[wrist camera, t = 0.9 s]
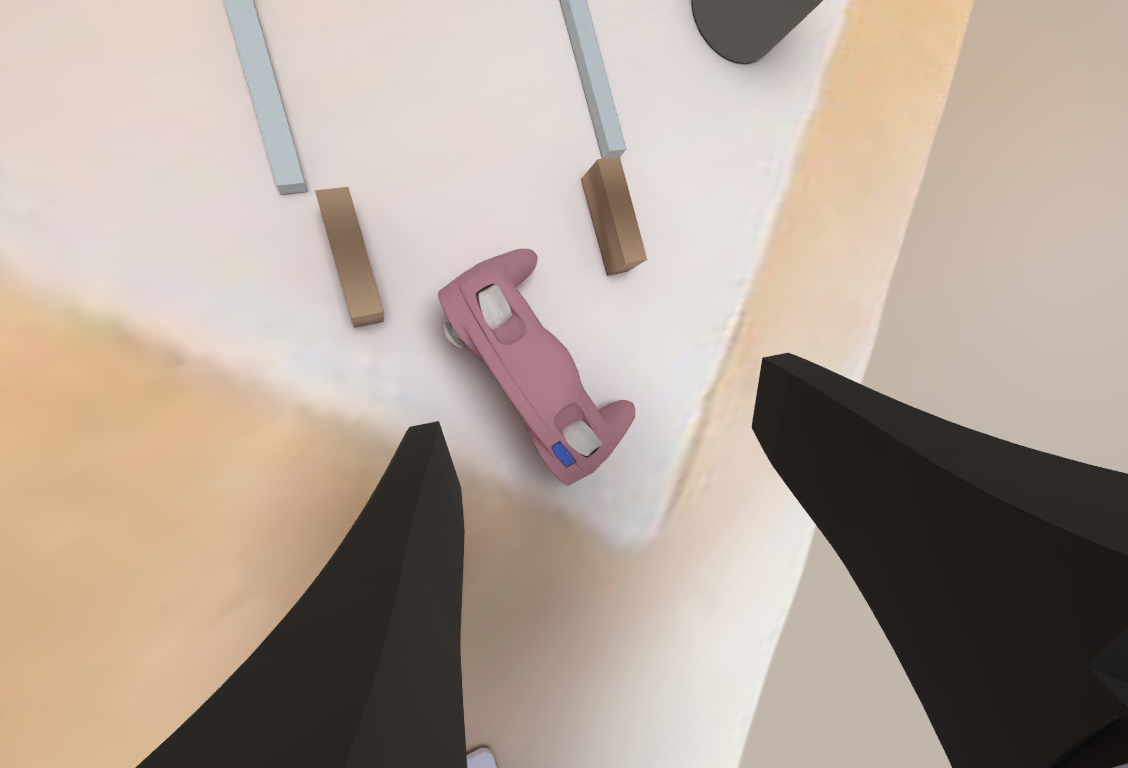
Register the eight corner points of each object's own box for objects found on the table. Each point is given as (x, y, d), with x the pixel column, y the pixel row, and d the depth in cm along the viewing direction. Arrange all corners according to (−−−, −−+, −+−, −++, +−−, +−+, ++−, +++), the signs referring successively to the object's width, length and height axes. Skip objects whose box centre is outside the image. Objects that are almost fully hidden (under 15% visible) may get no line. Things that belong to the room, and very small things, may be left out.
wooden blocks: (627, 271, 25) (647, 259, 24) (353, 327, 21) (351, 318, 19) (602, 176, 25) (619, 157, 23) (321, 211, 21) (314, 190, 19)
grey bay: (619, 156, 26) (626, 149, 25) (280, 194, 20) (276, 185, 19) (563, -52, 26) (569, -66, 25) (204, -72, 20) (197, -91, 19)
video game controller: (450, 295, 24) (398, 298, 17) (528, 241, 23) (506, 221, 16) (563, 459, 25) (556, 523, 18) (639, 412, 25) (662, 460, 18)
